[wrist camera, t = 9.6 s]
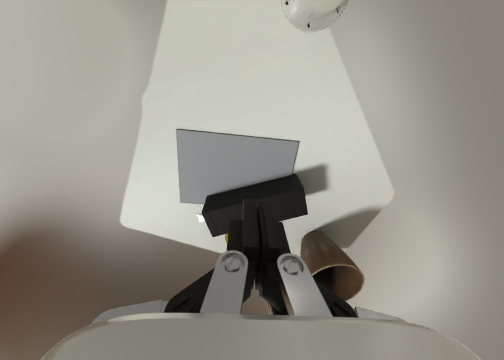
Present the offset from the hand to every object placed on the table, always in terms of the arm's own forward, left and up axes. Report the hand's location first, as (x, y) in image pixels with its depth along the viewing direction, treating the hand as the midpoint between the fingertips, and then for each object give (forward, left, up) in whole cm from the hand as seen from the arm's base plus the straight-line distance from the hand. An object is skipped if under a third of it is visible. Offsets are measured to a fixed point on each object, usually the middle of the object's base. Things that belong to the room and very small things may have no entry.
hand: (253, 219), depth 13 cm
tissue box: (+16, +16, -33) cm, 40 cm away
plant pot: (+35, +25, -37) cm, 57 cm away
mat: (+14, -2, -37) cm, 40 cm away
